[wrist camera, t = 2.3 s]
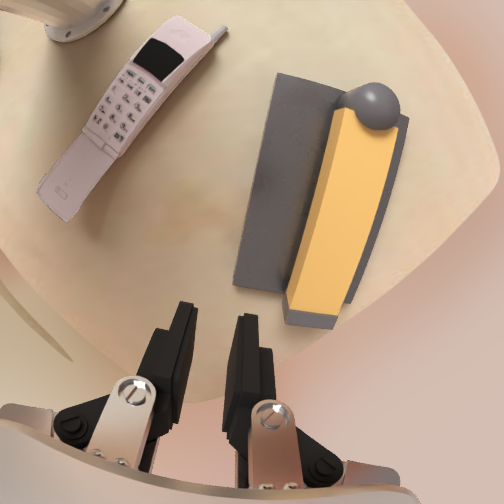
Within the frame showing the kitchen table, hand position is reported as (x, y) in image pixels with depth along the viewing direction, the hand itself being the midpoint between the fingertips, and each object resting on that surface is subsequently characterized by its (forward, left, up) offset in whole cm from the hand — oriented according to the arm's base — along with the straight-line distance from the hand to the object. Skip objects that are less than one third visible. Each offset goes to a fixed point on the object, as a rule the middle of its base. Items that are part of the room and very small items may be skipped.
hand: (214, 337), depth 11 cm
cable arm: (-4, +9, -17) cm, 19 cm away
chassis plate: (-3, +8, -19) cm, 21 cm away
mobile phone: (-9, -13, -20) cm, 25 cm away
